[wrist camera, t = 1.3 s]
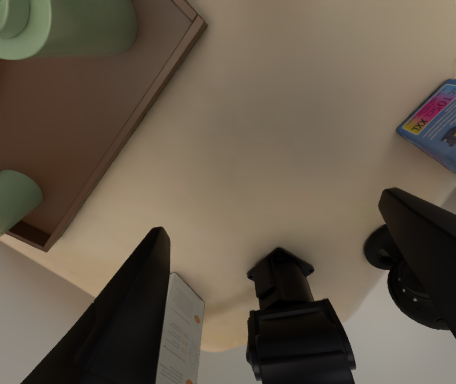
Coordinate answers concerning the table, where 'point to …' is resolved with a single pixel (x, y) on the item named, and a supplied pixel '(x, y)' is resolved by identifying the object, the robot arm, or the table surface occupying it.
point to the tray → (85, 113)
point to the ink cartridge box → (435, 126)
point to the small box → (180, 335)
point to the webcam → (403, 281)
